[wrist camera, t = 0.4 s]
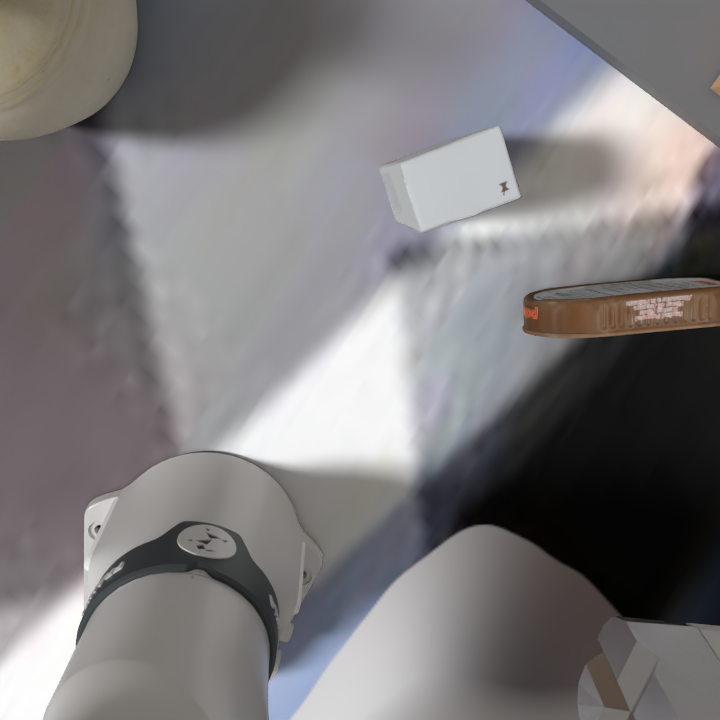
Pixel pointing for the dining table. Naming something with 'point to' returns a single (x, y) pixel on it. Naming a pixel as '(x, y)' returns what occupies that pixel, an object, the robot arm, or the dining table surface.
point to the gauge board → (654, 49)
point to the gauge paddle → (716, 86)
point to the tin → (623, 308)
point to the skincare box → (451, 180)
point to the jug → (61, 61)
